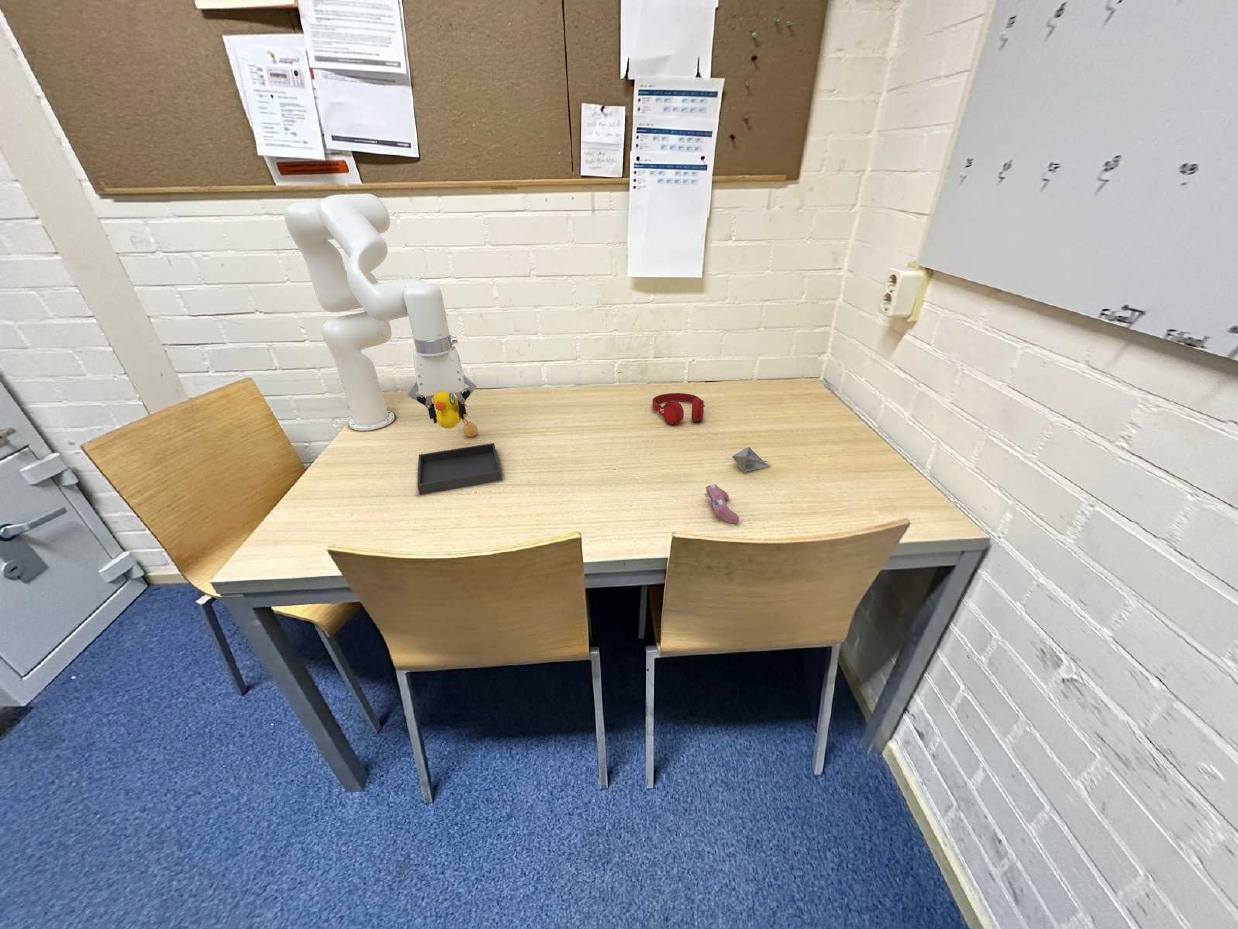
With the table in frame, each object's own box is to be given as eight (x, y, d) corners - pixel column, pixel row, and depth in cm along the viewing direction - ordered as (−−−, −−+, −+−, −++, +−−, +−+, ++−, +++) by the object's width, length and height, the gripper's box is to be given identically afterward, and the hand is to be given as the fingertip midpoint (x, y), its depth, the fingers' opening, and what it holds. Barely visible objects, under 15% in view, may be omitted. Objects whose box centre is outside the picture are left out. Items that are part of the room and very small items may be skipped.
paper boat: (749, 450, 130) (782, 453, 124) (744, 474, 130) (777, 478, 123) (725, 441, 121) (760, 443, 115) (721, 467, 121) (755, 471, 115)
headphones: (712, 423, 145) (690, 405, 163) (713, 400, 142) (690, 384, 161) (664, 428, 143) (647, 409, 161) (664, 405, 140) (646, 388, 158)
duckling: (457, 437, 113) (448, 397, 108) (433, 438, 113) (423, 398, 108) (466, 415, 123) (459, 378, 118) (444, 416, 123) (436, 378, 117)
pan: (420, 463, 129) (418, 454, 127) (495, 451, 134) (494, 442, 132) (419, 494, 116) (417, 485, 115) (502, 480, 121) (500, 471, 120)
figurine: (473, 442, 138) (466, 403, 132) (452, 442, 138) (444, 403, 132) (482, 429, 145) (475, 391, 139) (462, 429, 145) (454, 391, 139)
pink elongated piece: (710, 504, 114) (699, 482, 111) (728, 496, 113) (718, 474, 110) (721, 531, 106) (709, 509, 102) (741, 522, 105) (730, 499, 101)
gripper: (472, 335, 113) (484, 407, 123) (392, 343, 109) (411, 417, 118) (474, 345, 107) (487, 420, 116) (390, 354, 103) (410, 431, 112)
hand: (448, 418), depth 117 cm, fingers closed on duckling, 5 cm apart
